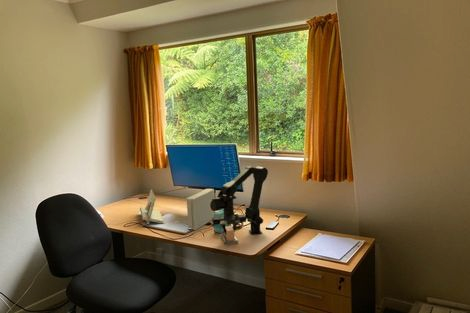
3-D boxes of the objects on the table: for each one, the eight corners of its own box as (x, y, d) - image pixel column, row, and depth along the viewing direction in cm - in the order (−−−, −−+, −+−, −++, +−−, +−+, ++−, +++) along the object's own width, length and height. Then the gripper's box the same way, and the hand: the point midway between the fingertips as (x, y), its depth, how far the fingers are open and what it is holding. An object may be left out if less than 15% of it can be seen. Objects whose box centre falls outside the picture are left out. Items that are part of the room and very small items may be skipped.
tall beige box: (225, 236, 212) (224, 226, 211) (231, 235, 212) (231, 225, 211) (227, 241, 204) (227, 231, 203) (234, 240, 204) (234, 230, 204)
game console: (187, 229, 229) (185, 198, 226) (207, 216, 253) (206, 188, 251) (195, 230, 226) (193, 199, 224) (215, 217, 251) (214, 189, 248)
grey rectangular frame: (221, 237, 213) (221, 234, 213) (234, 236, 214) (234, 233, 214) (224, 244, 202) (224, 242, 202) (238, 243, 203) (238, 240, 203)
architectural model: (132, 223, 236) (141, 191, 235) (130, 211, 263) (138, 182, 262) (163, 228, 242) (171, 197, 242) (158, 216, 270) (165, 188, 269)
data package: (220, 233, 219) (219, 214, 218) (214, 232, 222) (213, 213, 220) (231, 227, 229) (230, 209, 228) (225, 226, 232) (224, 208, 230)
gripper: (213, 213, 196) (215, 241, 198) (248, 209, 199) (249, 237, 202) (211, 207, 207) (212, 234, 209) (243, 204, 210) (244, 230, 212)
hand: (229, 234), depth 208 cm, fingers closed on tall beige box, 4 cm apart
